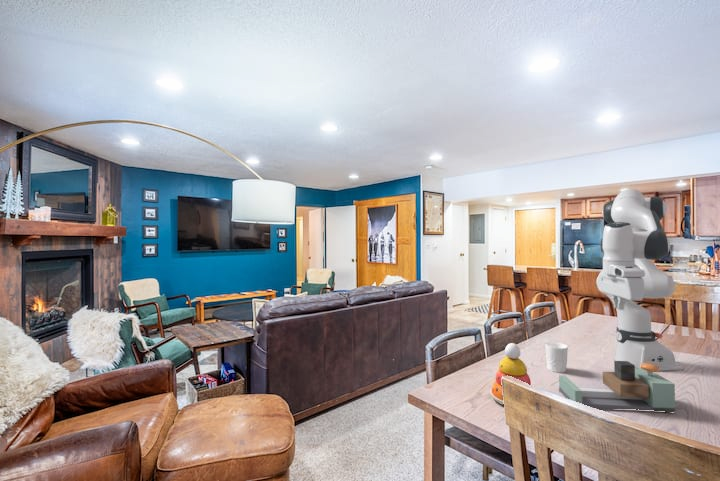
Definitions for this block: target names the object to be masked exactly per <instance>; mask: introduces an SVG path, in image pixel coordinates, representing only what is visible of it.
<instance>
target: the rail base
mask: <svg viewBox="0 0 720 481" xmlns="http://www.w3.org/2000/svg"><path fill="white" fill-rule="evenodd" d="M635 377H636V378H638V379H639V380H641V381H643V382H644V383H646V384H647V385H649V398H634V397H620V396H619V395H617V394H616V393H615V392H614V391H612V390H611V389H610V388H600V387H599V388H597V387H578V385H576V384H575V383H574V382H572V381H571V379H569V378H568V376H566V375H563V374H561V375H558V390H559V391H558V392H560V393H561V394H562V395H563V396H564V397H565V399H567V398H568V399H571V400H573V401H576V402H579V403H582V404H584V405H587V406H590V407H593V408H597V409H596V410H604V411H605V410H606V411H607V410H608V409H609V410H611V411H613V410H612V409H636V410H638V409H639V410H654V411H665V412H674V413H673V414H676V394H675V393H676V392H675V391H676V390H675V388H676V385H675V383H673V382H672V381H670V380H668V379H666V377H664V376H661V375H660V374H658V373H657V372H653V376H649V375H647V370H644V369H642V368H636V367H635ZM609 410H608V411H609Z"/></svg>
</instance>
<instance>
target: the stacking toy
mask: <svg viewBox="0 0 720 481" xmlns="http://www.w3.org/2000/svg"><path fill="white" fill-rule="evenodd" d="M504 354H505V355H506V356H505V357H503V358H502V359H501V360H500V362H499V364H498V370H497V371H496V373H495V380H494V382H493V383H492V386H491V388H490V392H489V393H490V396H491V398H493V400H494V401H495V402H497V403H499V405H503V395H502V385H501V378H502V376H507V375H508V376H512V377H514V378H516V379H519V380H521V381H523V382H526V383H528V384H529V385H531V386H532V383H531V381H532V380H531V378H530V375H529V374H528V369H527V366H526V364H525V362H524V361H523V360H522V359H520V357H521V349H520V347H519V346H518V344H516V343H514V342H511V343H508V344H507V345H506V346H505V349H504ZM503 406H504V405H503Z"/></svg>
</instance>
